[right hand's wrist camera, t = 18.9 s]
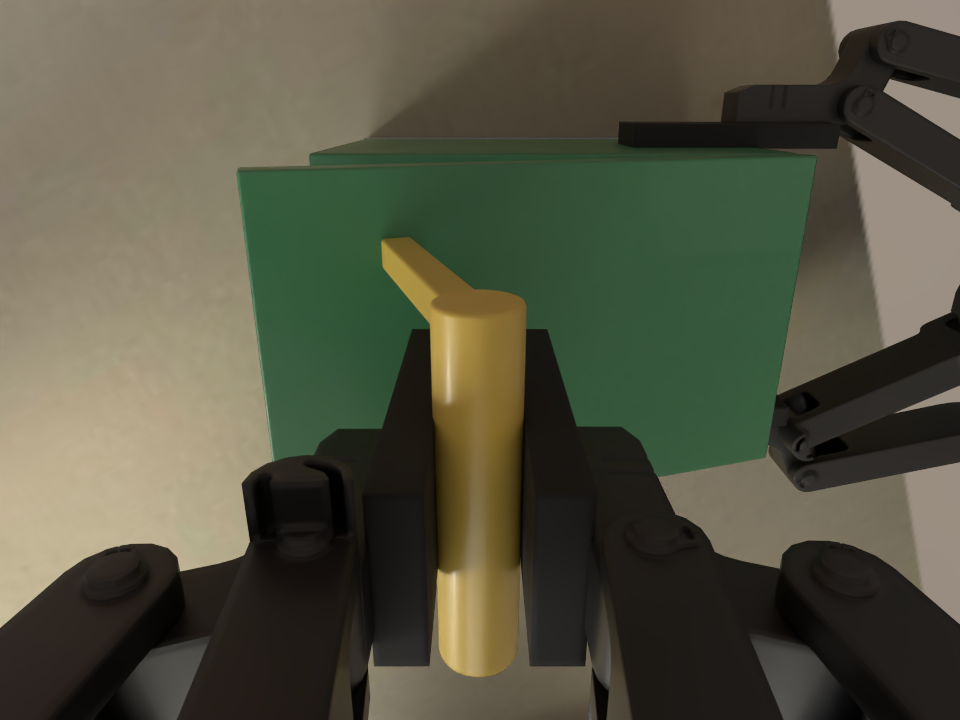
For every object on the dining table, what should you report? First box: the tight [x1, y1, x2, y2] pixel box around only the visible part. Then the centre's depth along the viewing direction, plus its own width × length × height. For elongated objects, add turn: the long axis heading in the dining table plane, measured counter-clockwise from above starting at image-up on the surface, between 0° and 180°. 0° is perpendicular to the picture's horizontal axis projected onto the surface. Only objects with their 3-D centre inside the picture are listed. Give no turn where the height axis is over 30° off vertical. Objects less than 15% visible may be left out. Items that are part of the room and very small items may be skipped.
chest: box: [309, 138, 795, 166], centre depth 25 cm, size 14×9×10 cm, turn 90°
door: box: [237, 154, 817, 677], centre depth 15 cm, size 15×9×8 cm, turn 90°
